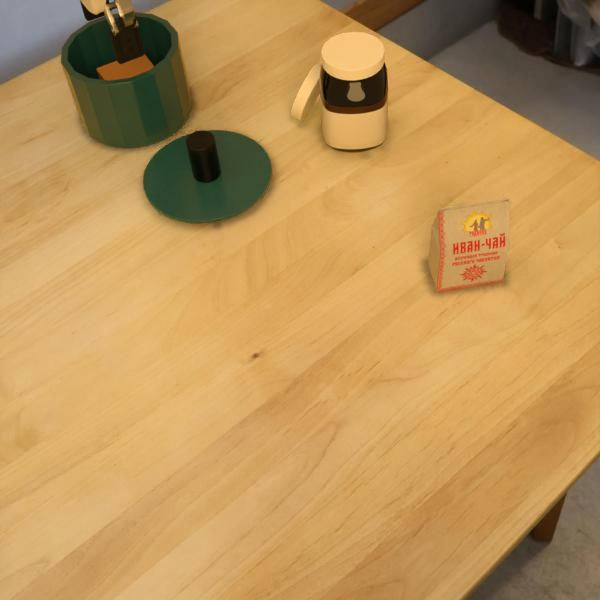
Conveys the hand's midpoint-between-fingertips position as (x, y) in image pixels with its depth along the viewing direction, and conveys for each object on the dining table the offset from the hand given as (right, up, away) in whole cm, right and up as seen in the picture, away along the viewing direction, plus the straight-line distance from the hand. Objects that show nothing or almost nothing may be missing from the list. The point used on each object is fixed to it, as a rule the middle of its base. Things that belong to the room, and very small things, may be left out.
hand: (114, 36), depth 98 cm
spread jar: (+26, -10, +4) cm, 28 cm away
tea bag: (+38, -27, -11) cm, 48 cm away
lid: (+11, -16, 0) cm, 19 cm away
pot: (+1, -7, +9) cm, 11 cm away
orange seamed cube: (+1, -6, +8) cm, 10 cm away
